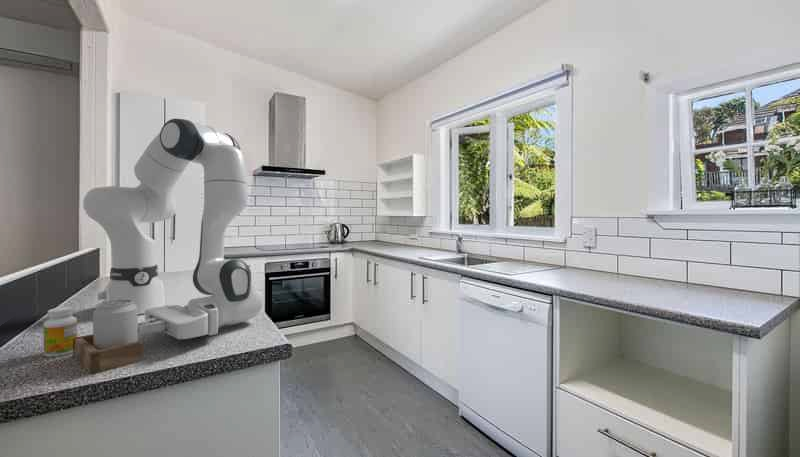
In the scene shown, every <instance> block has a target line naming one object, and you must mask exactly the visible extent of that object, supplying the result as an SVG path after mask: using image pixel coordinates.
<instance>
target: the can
mask: <svg viewBox="0 0 800 457" xmlns="http://www.w3.org/2000/svg"><path fill="white" fill-rule="evenodd" d="M133 302H134V300H131V299H119V300H111V301H105V302H102V301H101V302H99V303H96V305H97V306H98V308H97V309H95V310H93V312H92V332H93V333H92V334H93V347H94V348H96V349H97V350H102V349H106V348H110V347H115V346H119V345H123V344H127V343H131V342H136V341H139V335H138V334H139V333H138V323H139V322H138V318H139V317H138V315H137V306H136V305H135V304H133Z"/></svg>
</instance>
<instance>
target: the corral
mask: <svg viewBox="0 0 800 457" xmlns="http://www.w3.org/2000/svg"><path fill="white" fill-rule="evenodd" d="M72 356H73V358H74V359H75V360H76V361H77V362H79V363H80V364H81V366H83V367H84V368H85V369H86V370H87V371H89V373H90V374H91V375H95V374H98V373H102V372H104V371H105V372H106V371H109V370H112V369H116V368H119V367H123V366H126V365H132V364H134V363H139V362H141V361H142V341H140V340H138V341H136V342H131V343H127V344H123V345H119V346H115V347H110V348H106V349H102V350H97V349H96V348H94V347H93V333H92V334H87V335H86V334H85V335H83V336H82V335H81V336H78V337H76V338H73V352H72Z"/></svg>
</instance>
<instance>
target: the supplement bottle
mask: <svg viewBox="0 0 800 457" xmlns="http://www.w3.org/2000/svg"><path fill="white" fill-rule="evenodd" d="M73 312H74V308H73V307H72V306H62V307H56V308H55V307H54V308H51V309H49V310H47V318H48V319H47V320H45V321H44V322H43V355H44V356H45V357H59V356H65V355H68V354H71V353H72V354H73V338H76V337H79V336H78V319H77V317H76V316H73Z"/></svg>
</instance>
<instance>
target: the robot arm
mask: <svg viewBox="0 0 800 457" xmlns="http://www.w3.org/2000/svg"><path fill="white" fill-rule="evenodd" d="M190 162H192V163H195V164H200V165H201V166H202V167H203V172H204V173H203V183H204V184H203V196H204V197H203V211H202V218H201V223H200V241H199V255H198V261H197V263H196V266H195V268H194V270H193V274H192V282H193V286H194V288H195V289H196V290H197V291H198V292H199V293H201V294H203V295H205V296H202V297H198V298H192V299H190V300H189V301H188V303H187V304H186V305H184V306H182V305H177V304H176V305H173V304H172V305H170V302H169V301H168V300H165V294H164V283H163V281H162V279H160V278H158V275H159V268H158V267H159V266H158V265H157V247H156V245H157V244H156V241H155V240H154V239H153V238H152V237H151V236H149V235H146V233H145V232H143V230H142V227H141V224H140V223H157V222H162V221H166V220H169V219H171V218H172V217H173V216H174V215H175V213H176V210H177V203H176V199H175V198H174V197H173V195H172V192H173V188H174V186H175V184H176V183H177V181H178V180H179V179H180V177H181V175H182V174H183V172H184V171H185V170H186V169H187V167H188V166H189V164H190ZM133 170H134V171H133V172H134V175H135V178H136V179H137V180H138V181H139V185H137V186H136V187H127V186H126V187H125V186H115V185H109V186H100V187H99V186H98V187H94V188H91V189H90V190H89V191H87V193H86V194H85V196H84V198H83V202H82V203H83V210H84V212H85V214H86V215H87V216H88V217H89V218H90V219H91V220H93V221H94V222H96V223H97V224H98V225H100V226H101V227H102V228H103V230H104V231H105V233H106V235H107V237H108V239H109V242H110V248H111V259H112V260H111V261H112V262H111V263H112V267H111V268H110V271H109V282H108V284H107V285H106V287H105V288H104V290H102V292H101V291H100V292H98V293H97V298H98V301H100V300H101V302H105V301H111V300H119V299H131V300H134V302H133V304H135V305H136V306H137V316H139V315H142V314H144V321H142V322H138V334H141V335H142V334H146V333H159V332H162V333H165V334H167V335H169V336H171V337H173V338H174V339H177V340H187V339H194V338H198V337H202V336H206V335H207V336H214V335H217V334H218V333H219V328H222V327H224V326H234V325H237V324H241V323H245V322H246V321H250V320H252V319H254V318H256V316H257V315H259V313H260V312H261V310H262V307H263V296H262V294H261V292H260V291H259V290H258V289H257V288H256V286H255V283H254V282H253V280H252V273H251V272H252V270H251V269H250V266H249V265H248V264H247V263H246V262H244V260H241V259H235V258H233V259H225V254H224V253H225V238H226V237H225V236H226V231H227V228H228V227H229V224H230V223H231V222H232V221H233V220H234V219H235V218H236V217H237V216H238V215H240V214H241V213H242V212H243V211H244V210H245V208H246V207H247V205H248V204H247V203H248V197H249V182H248V173H247V172H248V171H247V166H246V162H245V157H244V153H243V152H242V151H241V146H240V143H239V142H238V140H237V139H235V138H234V137H233V136H231V134H228V133H226V132H223V131H220V130H219V129H216V128H213V127H211V126H209V125H204V124H200V123H197V122H192V121H191V120H189V119H183V118H171V119H169V120H167V121H166V122H165V123H164V124H163V125H162V127H161V130H160V132H159V133H158V134H157V135H156V136H155V137H154V138H153V140H151V142H150V143H149V144H148V146H147V147H146V149H145V150H144V151H143V153H142V154H141V156H140V157H139V159H138V160H137V162H136V164H135V165H134V167H133ZM94 308H95V309H97V308H98V306H97V304H95V306H94Z"/></svg>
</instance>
